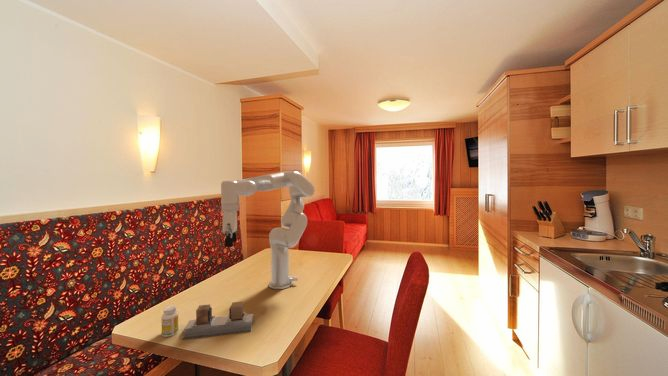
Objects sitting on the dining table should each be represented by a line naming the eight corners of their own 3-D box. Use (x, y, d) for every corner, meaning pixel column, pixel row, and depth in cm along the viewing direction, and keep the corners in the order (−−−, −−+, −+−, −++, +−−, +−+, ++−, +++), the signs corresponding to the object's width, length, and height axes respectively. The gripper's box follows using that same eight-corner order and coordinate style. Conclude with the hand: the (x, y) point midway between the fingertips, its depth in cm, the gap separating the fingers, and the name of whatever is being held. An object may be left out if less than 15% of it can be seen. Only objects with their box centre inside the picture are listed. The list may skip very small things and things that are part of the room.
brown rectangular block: (196, 326, 98) (196, 310, 98) (199, 320, 102) (199, 305, 102) (209, 324, 99) (209, 309, 99) (212, 319, 103) (211, 304, 103)
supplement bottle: (164, 339, 95) (163, 313, 94) (159, 333, 98) (159, 308, 98) (180, 332, 99) (180, 307, 99) (175, 327, 102) (174, 303, 102)
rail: (253, 317, 109) (253, 297, 109) (250, 331, 99) (250, 308, 99) (191, 324, 104) (190, 303, 104) (182, 339, 94) (181, 315, 94)
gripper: (225, 205, 127) (226, 240, 128) (217, 209, 110) (218, 249, 111) (241, 205, 129) (242, 239, 129) (235, 209, 112) (236, 248, 112)
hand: (231, 244), depth 120 cm, fingers open, 9 cm apart
